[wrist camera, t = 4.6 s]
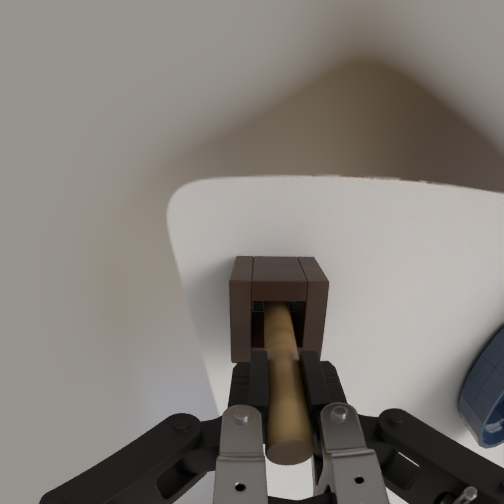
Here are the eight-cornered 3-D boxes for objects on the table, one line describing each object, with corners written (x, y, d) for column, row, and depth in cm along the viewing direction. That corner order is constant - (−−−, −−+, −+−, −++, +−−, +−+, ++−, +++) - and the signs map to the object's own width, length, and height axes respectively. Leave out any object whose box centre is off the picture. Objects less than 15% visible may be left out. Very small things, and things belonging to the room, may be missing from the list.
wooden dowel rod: (263, 282, 21) (266, 439, 8) (286, 282, 21) (318, 437, 8) (263, 302, 22) (264, 466, 8) (285, 302, 22) (311, 464, 8)
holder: (236, 255, 21) (229, 280, 16) (314, 256, 21) (329, 281, 16) (237, 325, 22) (231, 363, 17) (308, 325, 22) (319, 363, 17)
